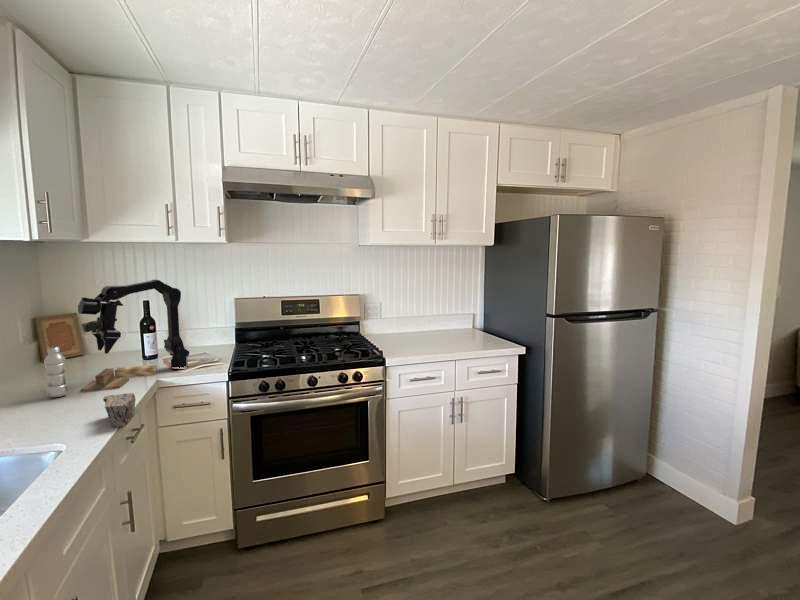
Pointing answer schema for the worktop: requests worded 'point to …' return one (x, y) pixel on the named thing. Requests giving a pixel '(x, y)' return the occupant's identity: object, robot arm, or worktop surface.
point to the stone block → (120, 408)
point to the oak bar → (136, 371)
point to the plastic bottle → (55, 373)
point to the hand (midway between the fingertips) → (102, 351)
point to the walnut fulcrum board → (110, 386)
